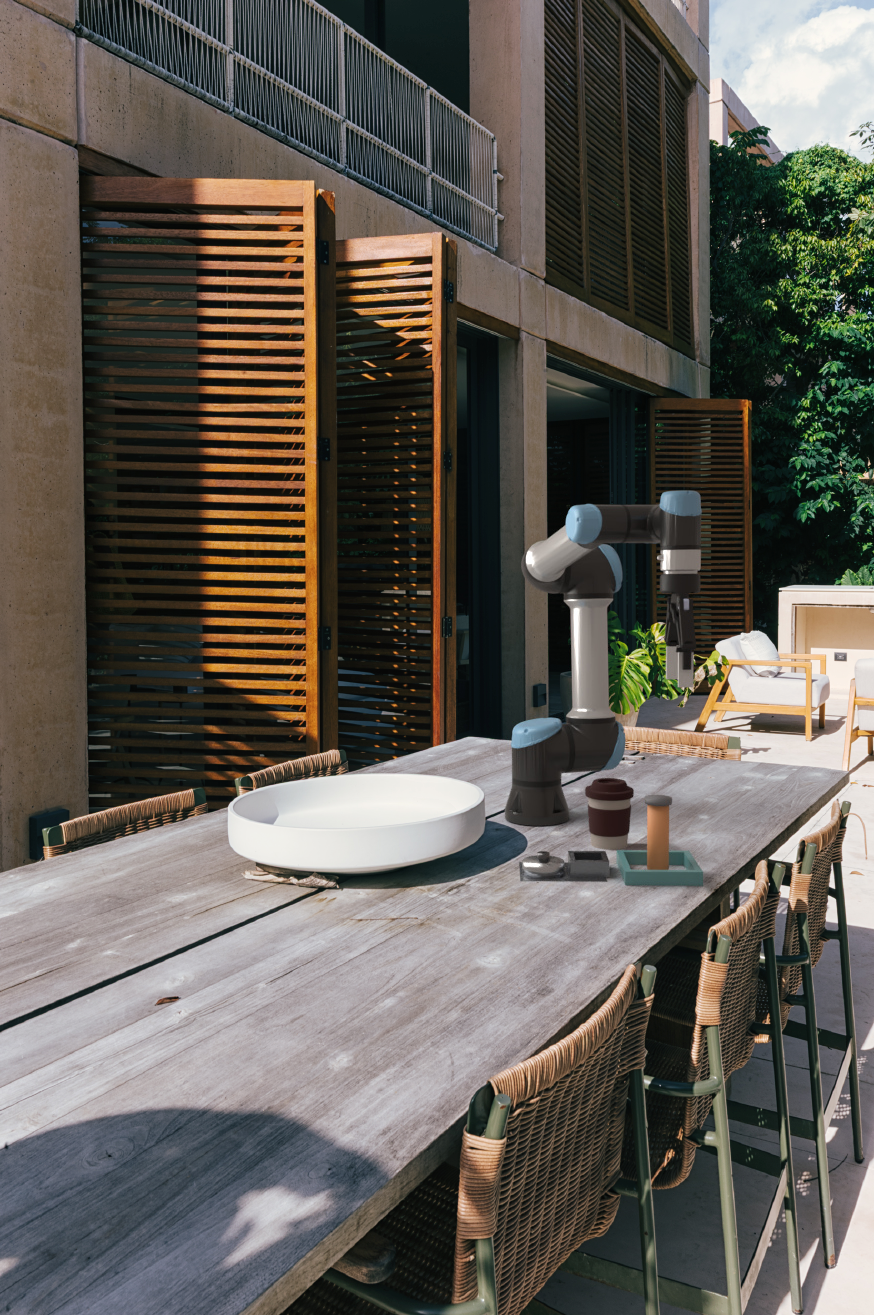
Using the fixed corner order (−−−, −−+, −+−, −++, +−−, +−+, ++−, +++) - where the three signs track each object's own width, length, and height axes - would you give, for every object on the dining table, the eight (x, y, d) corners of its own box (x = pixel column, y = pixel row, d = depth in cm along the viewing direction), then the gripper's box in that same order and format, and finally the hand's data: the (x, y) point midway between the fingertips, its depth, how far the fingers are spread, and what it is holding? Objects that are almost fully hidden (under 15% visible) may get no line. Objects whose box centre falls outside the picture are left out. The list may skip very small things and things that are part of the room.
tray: (616, 870, 199) (616, 850, 199) (688, 870, 198) (688, 850, 198) (625, 892, 185) (625, 871, 185) (703, 893, 185) (703, 872, 184)
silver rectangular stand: (519, 869, 200) (519, 844, 200) (604, 870, 199) (604, 844, 199) (520, 888, 189) (520, 861, 188) (610, 889, 188) (610, 862, 187)
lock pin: (642, 871, 195) (643, 794, 193) (669, 872, 194) (669, 794, 193) (646, 879, 190) (646, 800, 188) (673, 880, 189) (674, 800, 188)
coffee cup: (633, 859, 206) (633, 786, 205) (583, 857, 208) (583, 785, 207) (633, 846, 216) (633, 776, 215) (586, 844, 218) (586, 775, 217)
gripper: (650, 572, 207) (649, 676, 209) (671, 573, 182) (670, 690, 184) (687, 572, 207) (686, 675, 208) (713, 572, 182) (712, 690, 184)
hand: (679, 683), depth 196 cm, fingers open, 13 cm apart
